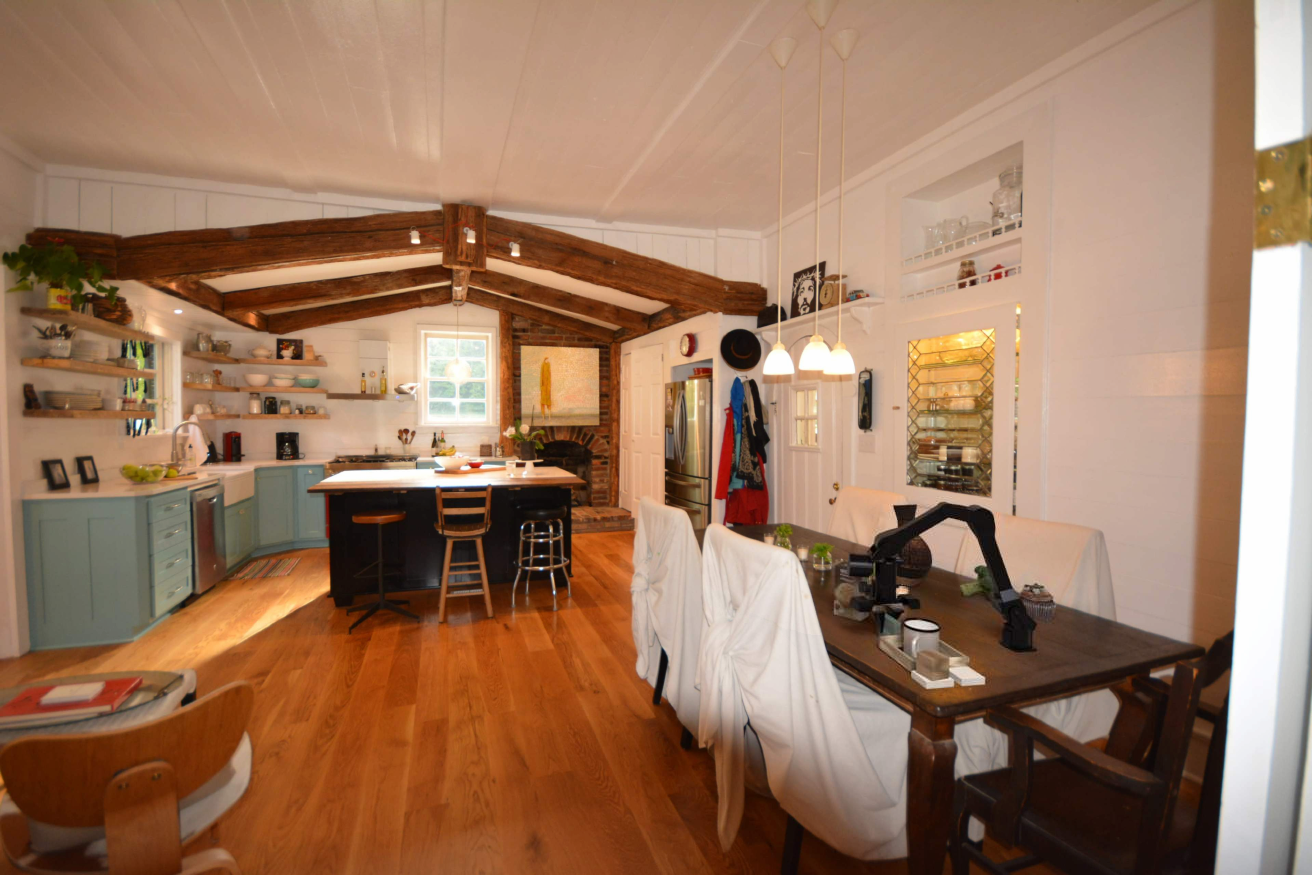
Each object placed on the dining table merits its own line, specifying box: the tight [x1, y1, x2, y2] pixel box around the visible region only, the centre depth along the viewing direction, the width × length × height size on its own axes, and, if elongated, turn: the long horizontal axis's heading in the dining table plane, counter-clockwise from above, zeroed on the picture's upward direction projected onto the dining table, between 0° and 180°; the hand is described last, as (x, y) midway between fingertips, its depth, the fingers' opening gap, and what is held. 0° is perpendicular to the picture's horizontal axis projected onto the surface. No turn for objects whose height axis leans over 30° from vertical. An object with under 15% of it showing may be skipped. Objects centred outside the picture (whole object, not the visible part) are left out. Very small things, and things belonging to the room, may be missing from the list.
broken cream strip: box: [910, 666, 986, 690], centre depth 138 cm, size 15×6×2 cm, turn 99°
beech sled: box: [877, 612, 970, 673], centre depth 154 cm, size 15×24×6 cm, turn 9°
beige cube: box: [916, 649, 949, 681], centre depth 138 cm, size 5×5×5 cm
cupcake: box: [1019, 583, 1057, 622], centre depth 181 cm, size 10×10×10 cm
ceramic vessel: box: [892, 503, 933, 587], centre depth 215 cm, size 21×18×30 cm
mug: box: [901, 616, 942, 660], centre depth 150 cm, size 12×10×9 cm
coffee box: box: [833, 560, 870, 622], centre depth 182 cm, size 9×6×16 cm
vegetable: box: [959, 564, 994, 602], centre depth 198 cm, size 12×13×15 cm
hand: (884, 632), depth 164 cm, fingers closed on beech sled, 2 cm apart
